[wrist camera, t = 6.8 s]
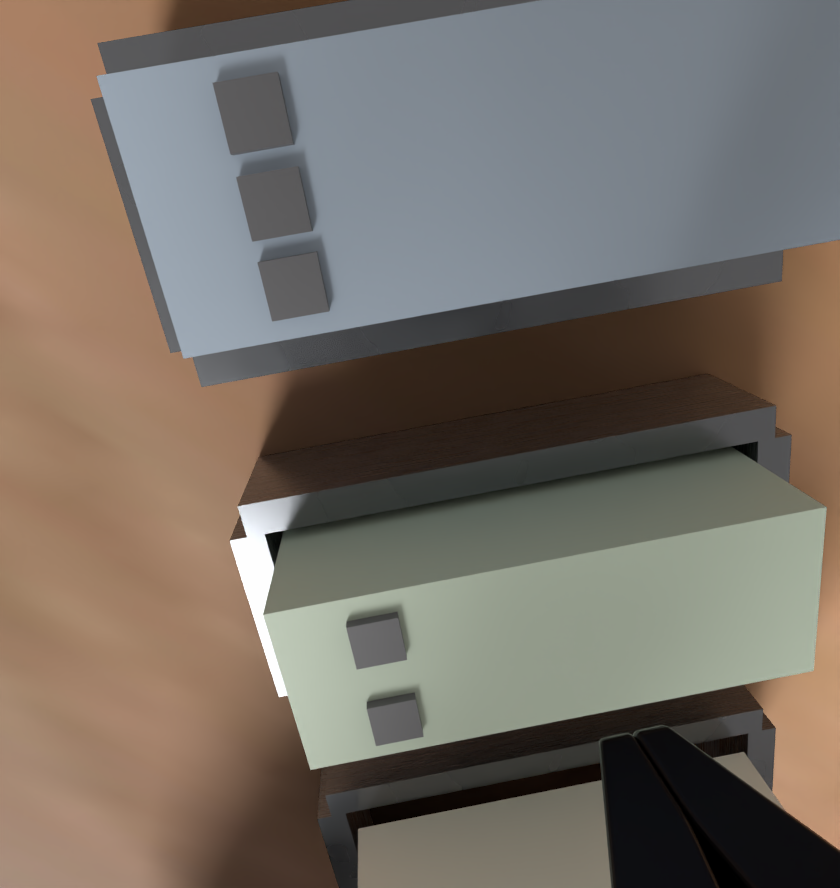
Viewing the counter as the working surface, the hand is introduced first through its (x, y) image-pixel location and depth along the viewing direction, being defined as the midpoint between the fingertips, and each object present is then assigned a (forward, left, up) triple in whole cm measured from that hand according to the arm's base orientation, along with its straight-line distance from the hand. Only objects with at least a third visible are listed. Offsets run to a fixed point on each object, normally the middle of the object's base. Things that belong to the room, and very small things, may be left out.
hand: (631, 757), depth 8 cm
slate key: (0, +7, -10) cm, 12 cm away
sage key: (0, -2, -10) cm, 10 cm away
